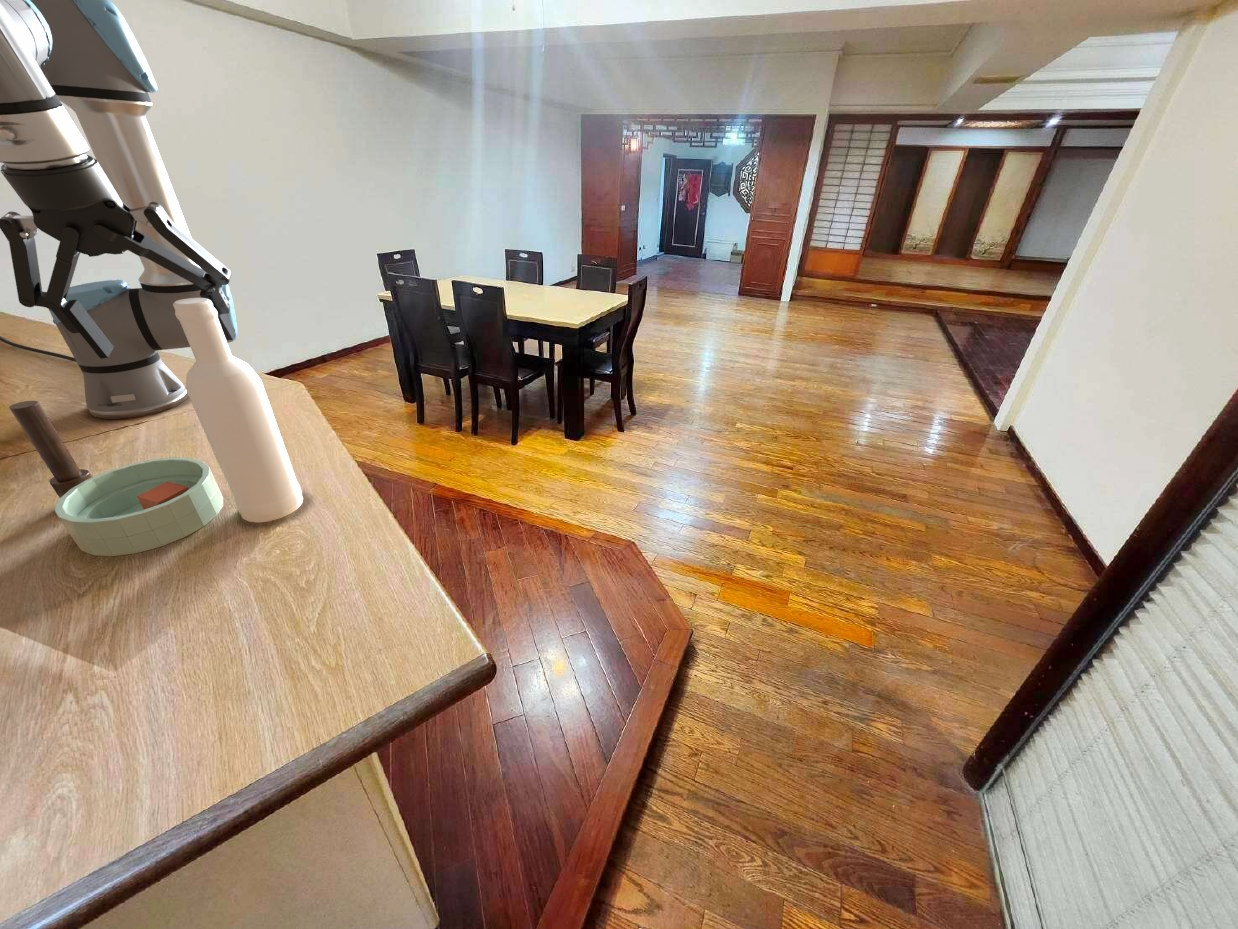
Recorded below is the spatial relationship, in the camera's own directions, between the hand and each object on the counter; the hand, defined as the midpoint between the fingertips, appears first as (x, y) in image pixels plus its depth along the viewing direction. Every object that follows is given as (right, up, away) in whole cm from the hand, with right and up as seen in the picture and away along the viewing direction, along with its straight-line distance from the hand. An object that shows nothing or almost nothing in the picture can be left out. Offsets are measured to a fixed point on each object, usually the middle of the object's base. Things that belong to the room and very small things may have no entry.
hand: (171, 344), depth 65 cm
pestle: (-19, -22, +7) cm, 29 cm away
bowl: (-6, -24, +4) cm, 25 cm away
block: (-4, -23, +5) cm, 24 cm away
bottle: (+8, -23, +8) cm, 25 cm away
